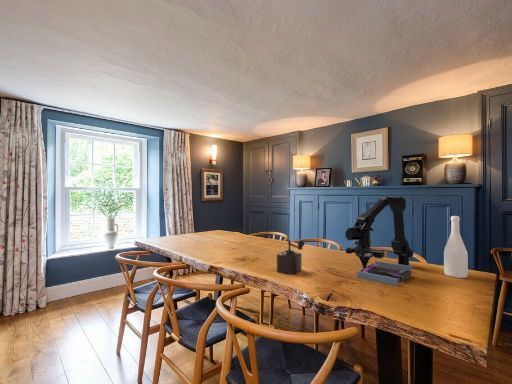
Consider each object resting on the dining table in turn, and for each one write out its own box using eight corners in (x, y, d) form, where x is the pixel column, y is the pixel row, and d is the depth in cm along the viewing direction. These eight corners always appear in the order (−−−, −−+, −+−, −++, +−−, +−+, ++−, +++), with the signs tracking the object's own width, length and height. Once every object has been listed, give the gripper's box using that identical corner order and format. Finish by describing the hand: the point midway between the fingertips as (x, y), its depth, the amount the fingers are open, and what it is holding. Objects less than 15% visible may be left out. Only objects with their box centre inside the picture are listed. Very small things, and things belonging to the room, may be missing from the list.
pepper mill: (275, 272, 139) (275, 238, 139) (284, 267, 148) (284, 235, 148) (303, 277, 130) (302, 241, 130) (311, 271, 140) (310, 237, 140)
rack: (375, 265, 150) (375, 260, 150) (411, 272, 138) (411, 266, 138) (357, 277, 129) (356, 271, 129) (397, 286, 117) (397, 279, 117)
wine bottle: (446, 271, 139) (445, 215, 139) (469, 275, 132) (468, 216, 132) (442, 275, 132) (441, 216, 132) (466, 280, 125) (465, 217, 126)
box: (361, 275, 136) (402, 284, 122) (361, 268, 136) (402, 276, 122) (372, 269, 145) (412, 277, 131) (372, 263, 145) (411, 270, 131)
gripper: (341, 239, 141) (341, 268, 141) (377, 243, 129) (377, 275, 129) (349, 236, 149) (349, 263, 149) (384, 240, 137) (384, 270, 137)
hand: (364, 268), depth 141 cm, fingers closed
